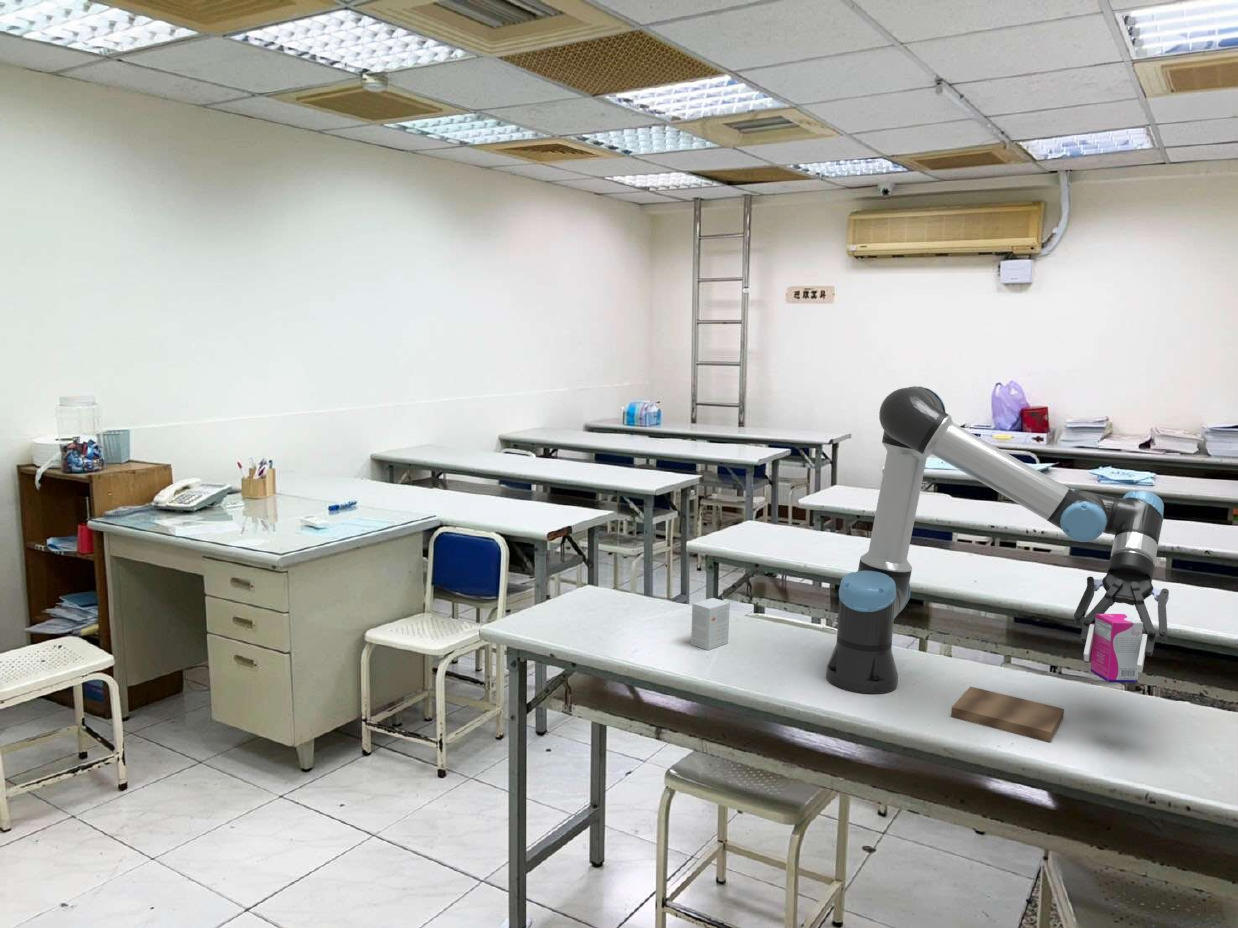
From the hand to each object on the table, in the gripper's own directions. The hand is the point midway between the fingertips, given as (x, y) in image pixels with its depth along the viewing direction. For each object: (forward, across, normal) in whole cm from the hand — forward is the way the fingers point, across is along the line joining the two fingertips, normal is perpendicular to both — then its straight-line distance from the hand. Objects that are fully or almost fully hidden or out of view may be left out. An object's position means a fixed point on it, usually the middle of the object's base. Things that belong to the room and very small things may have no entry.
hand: (1112, 663), depth 157 cm
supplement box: (0, 0, -5) cm, 5 cm away
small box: (+11, +85, -14) cm, 87 cm away
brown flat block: (+9, +17, -14) cm, 24 cm away
